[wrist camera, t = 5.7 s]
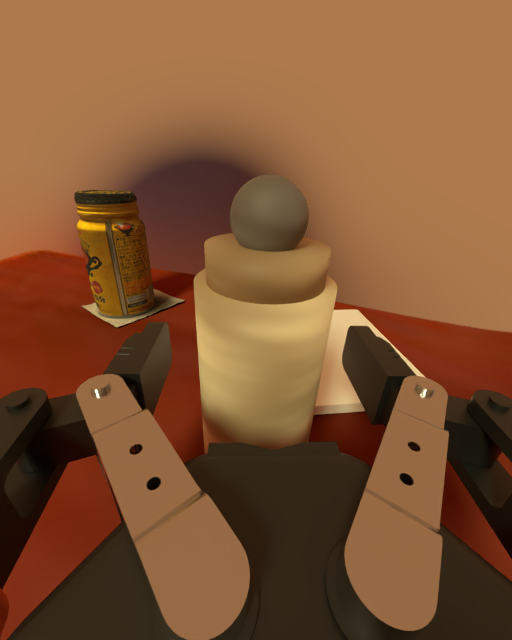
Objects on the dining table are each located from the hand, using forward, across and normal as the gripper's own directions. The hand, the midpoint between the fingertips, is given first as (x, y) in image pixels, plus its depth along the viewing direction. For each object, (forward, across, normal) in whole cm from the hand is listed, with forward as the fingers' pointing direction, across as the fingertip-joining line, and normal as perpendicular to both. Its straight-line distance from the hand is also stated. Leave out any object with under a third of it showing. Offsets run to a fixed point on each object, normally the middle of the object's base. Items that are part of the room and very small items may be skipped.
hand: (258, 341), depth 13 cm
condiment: (+19, +13, +8) cm, 25 cm away
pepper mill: (-2, 0, +8) cm, 8 cm away
